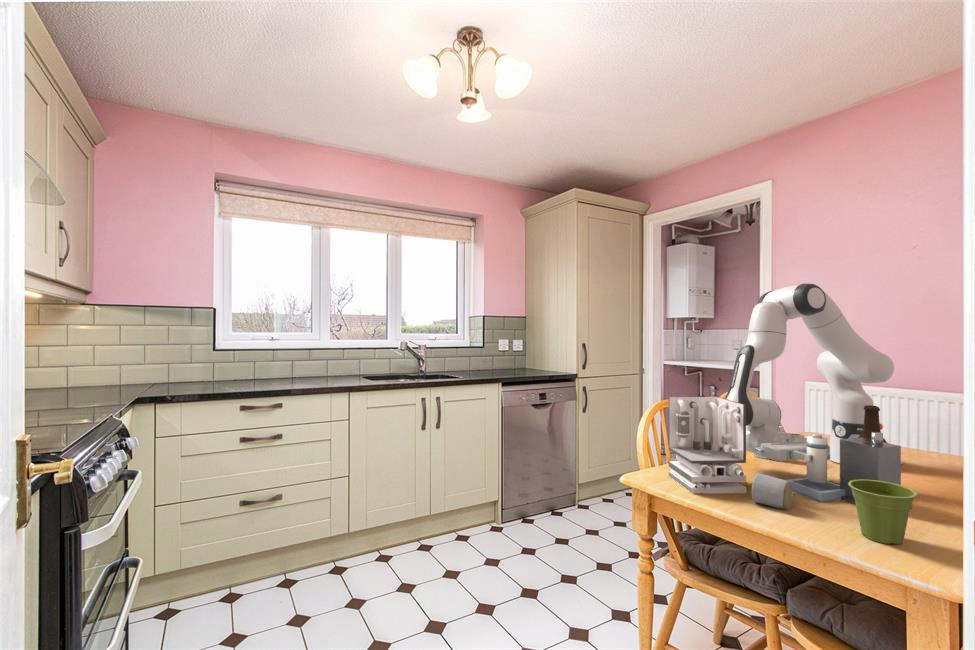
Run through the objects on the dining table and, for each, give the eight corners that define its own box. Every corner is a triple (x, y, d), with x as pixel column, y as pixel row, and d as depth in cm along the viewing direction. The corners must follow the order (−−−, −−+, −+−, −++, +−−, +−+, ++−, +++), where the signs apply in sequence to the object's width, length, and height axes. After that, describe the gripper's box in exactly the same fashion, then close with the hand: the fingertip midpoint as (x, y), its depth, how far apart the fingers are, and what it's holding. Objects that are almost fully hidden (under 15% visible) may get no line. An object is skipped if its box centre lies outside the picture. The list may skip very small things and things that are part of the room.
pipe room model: (717, 475, 152) (717, 396, 152) (753, 497, 133) (753, 406, 133) (668, 476, 151) (668, 396, 152) (697, 498, 132) (697, 407, 132)
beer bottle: (857, 482, 146) (857, 402, 146) (890, 488, 140) (890, 405, 140) (852, 488, 140) (852, 405, 140) (887, 495, 135) (887, 409, 135)
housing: (860, 492, 137) (860, 425, 137) (911, 508, 124) (911, 435, 124) (830, 495, 134) (830, 427, 134) (879, 513, 121) (879, 438, 121)
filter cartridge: (815, 477, 139) (815, 432, 139) (831, 482, 134) (832, 436, 134) (802, 478, 137) (802, 433, 138) (818, 483, 133) (818, 437, 133)
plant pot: (844, 523, 115) (844, 476, 115) (909, 534, 109) (909, 484, 109) (852, 542, 105) (852, 490, 105) (923, 555, 99) (923, 500, 99)
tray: (815, 485, 143) (815, 477, 143) (852, 498, 132) (852, 489, 132) (785, 488, 140) (785, 480, 140) (821, 502, 129) (821, 492, 129)
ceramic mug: (786, 513, 121) (786, 483, 121) (750, 505, 127) (751, 475, 127) (797, 503, 129) (797, 474, 129) (762, 495, 135) (763, 468, 135)
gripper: (750, 437, 146) (790, 448, 132) (803, 433, 151) (847, 444, 138) (750, 458, 146) (790, 471, 132) (803, 453, 151) (847, 466, 138)
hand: (820, 457), depth 135 cm, fingers closed on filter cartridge, 5 cm apart
